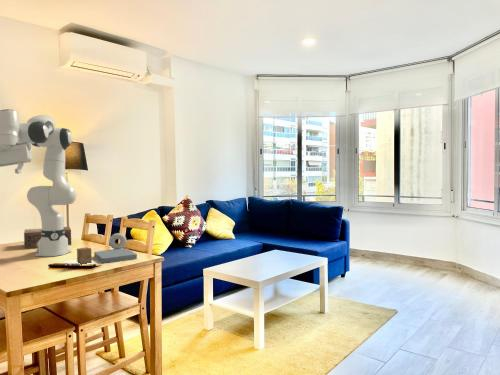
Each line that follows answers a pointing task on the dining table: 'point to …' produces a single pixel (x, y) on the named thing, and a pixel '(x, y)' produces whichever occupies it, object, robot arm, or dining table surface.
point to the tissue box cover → (35, 235)
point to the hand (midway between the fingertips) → (7, 174)
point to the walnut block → (84, 255)
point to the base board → (115, 255)
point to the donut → (117, 236)
